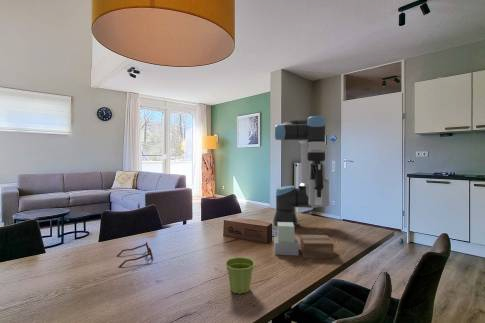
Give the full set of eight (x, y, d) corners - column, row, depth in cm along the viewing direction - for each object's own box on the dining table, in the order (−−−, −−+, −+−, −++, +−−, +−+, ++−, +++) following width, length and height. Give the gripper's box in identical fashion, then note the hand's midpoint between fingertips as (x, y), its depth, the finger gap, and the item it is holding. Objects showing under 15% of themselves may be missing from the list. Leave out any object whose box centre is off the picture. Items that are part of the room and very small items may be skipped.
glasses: (153, 261, 107) (153, 249, 106) (118, 268, 100) (118, 255, 100) (148, 251, 118) (148, 240, 118) (116, 256, 112) (116, 245, 112)
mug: (333, 205, 111) (333, 180, 111) (318, 207, 108) (318, 181, 107) (313, 201, 122) (313, 178, 122) (299, 203, 118) (299, 178, 118)
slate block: (274, 246, 122) (274, 235, 122) (295, 247, 121) (295, 236, 121) (274, 254, 112) (274, 243, 112) (298, 255, 111) (298, 243, 111)
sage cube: (277, 237, 121) (277, 222, 120) (292, 237, 120) (292, 222, 120) (278, 242, 114) (278, 226, 113) (294, 242, 113) (294, 226, 113)
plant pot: (232, 280, 90) (232, 255, 90) (258, 285, 86) (258, 259, 86) (220, 293, 81) (220, 266, 81) (248, 300, 77) (248, 271, 77)
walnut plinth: (300, 247, 121) (300, 234, 121) (326, 248, 120) (326, 235, 120) (303, 257, 109) (303, 243, 109) (333, 258, 108) (333, 244, 108)
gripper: (303, 152, 125) (303, 198, 126) (311, 151, 103) (311, 207, 103) (319, 152, 125) (319, 198, 125) (331, 151, 102) (331, 207, 102)
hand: (316, 202), depth 114 cm, fingers closed on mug, 10 cm apart
